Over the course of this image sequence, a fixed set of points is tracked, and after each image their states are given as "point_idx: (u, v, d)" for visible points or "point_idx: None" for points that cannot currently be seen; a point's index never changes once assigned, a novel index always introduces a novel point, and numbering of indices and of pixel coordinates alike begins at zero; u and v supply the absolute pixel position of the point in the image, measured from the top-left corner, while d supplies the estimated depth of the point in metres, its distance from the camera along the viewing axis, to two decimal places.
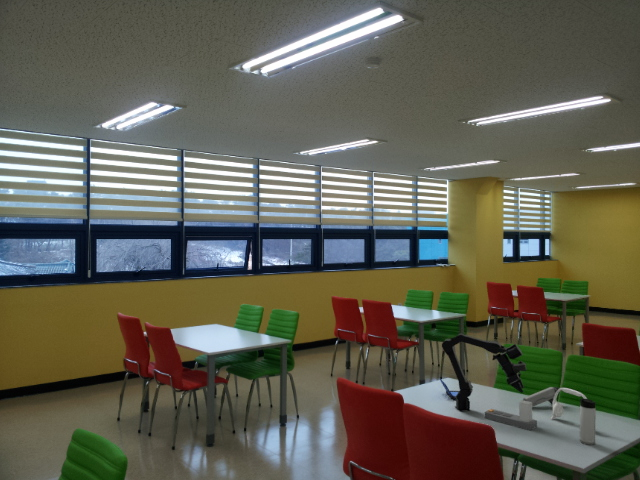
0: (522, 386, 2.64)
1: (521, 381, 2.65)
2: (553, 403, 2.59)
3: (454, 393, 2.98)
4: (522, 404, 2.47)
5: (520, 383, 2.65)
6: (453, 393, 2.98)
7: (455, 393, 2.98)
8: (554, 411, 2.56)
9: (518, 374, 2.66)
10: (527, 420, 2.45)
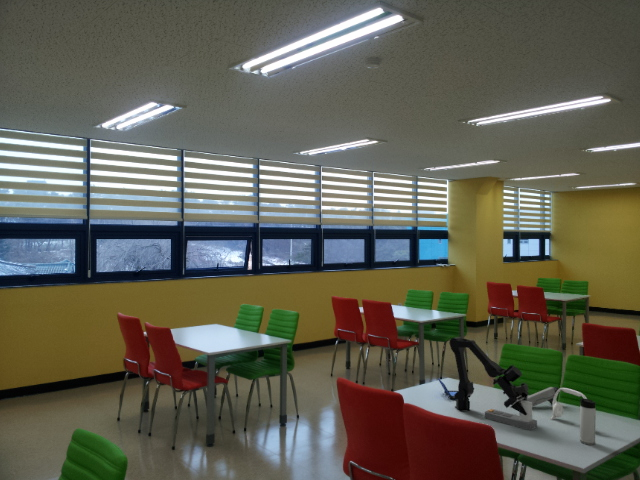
0: None
1: None
2: (553, 403, 2.59)
3: (453, 393, 2.98)
4: (522, 404, 2.47)
5: None
6: (452, 393, 2.98)
7: (454, 393, 2.98)
8: (554, 411, 2.56)
9: (524, 398, 2.52)
10: (527, 420, 2.45)
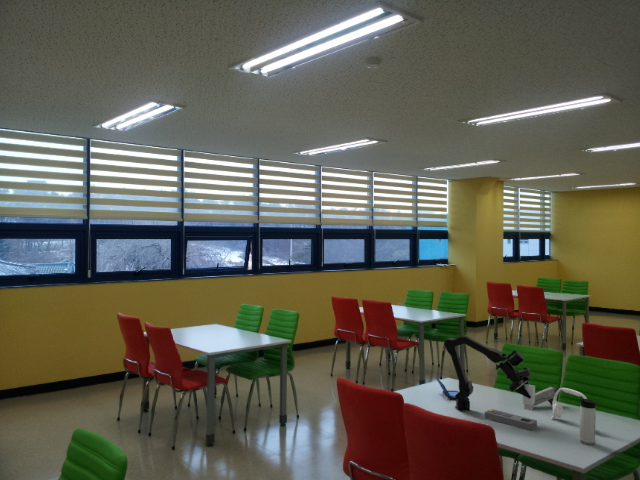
0: None
1: None
2: (553, 403, 2.59)
3: (451, 393, 2.98)
4: (526, 388, 2.52)
5: None
6: (450, 393, 2.98)
7: (452, 393, 2.98)
8: (554, 411, 2.56)
9: (526, 382, 2.58)
10: (531, 403, 2.50)
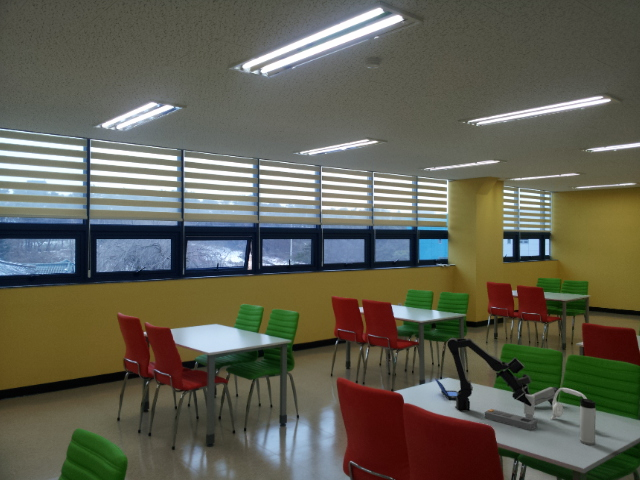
0: None
1: None
2: (553, 403, 2.59)
3: (450, 393, 2.98)
4: None
5: None
6: (449, 393, 2.98)
7: (451, 393, 2.98)
8: (554, 411, 2.56)
9: (525, 388, 2.66)
10: (532, 413, 2.57)
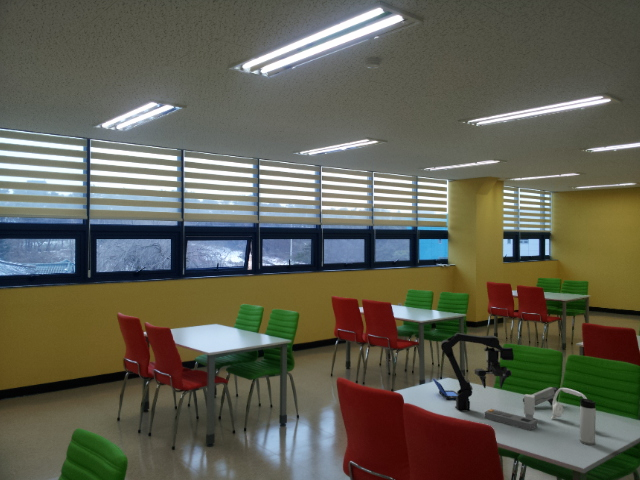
0: (500, 386, 2.69)
1: (502, 382, 2.69)
2: (553, 403, 2.59)
3: (448, 393, 2.98)
4: (527, 398, 2.58)
5: (501, 383, 2.70)
6: (447, 393, 2.98)
7: (449, 393, 2.98)
8: (554, 411, 2.56)
9: (504, 375, 2.68)
10: (532, 413, 2.57)
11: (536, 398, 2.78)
